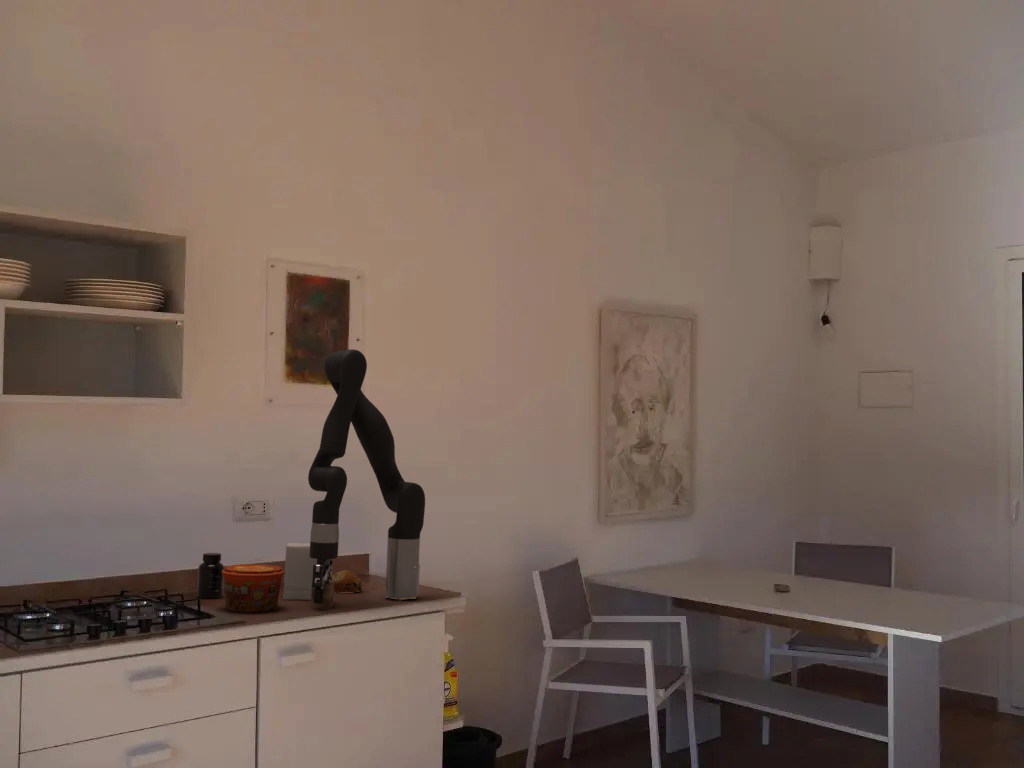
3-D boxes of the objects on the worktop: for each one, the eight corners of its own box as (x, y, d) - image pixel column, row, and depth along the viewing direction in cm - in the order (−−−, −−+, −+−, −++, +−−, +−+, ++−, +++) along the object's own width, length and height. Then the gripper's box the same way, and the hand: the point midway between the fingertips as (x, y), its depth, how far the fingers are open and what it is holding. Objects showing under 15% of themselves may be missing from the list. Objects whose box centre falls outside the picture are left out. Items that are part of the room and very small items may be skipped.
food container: (241, 616, 247) (243, 573, 248) (207, 607, 258) (209, 566, 259) (295, 610, 259) (297, 568, 260) (260, 602, 270) (262, 562, 270)
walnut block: (333, 606, 268) (333, 583, 268) (329, 609, 263) (330, 586, 263) (314, 605, 268) (315, 582, 268) (310, 608, 263) (311, 585, 263)
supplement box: (315, 600, 275) (318, 546, 276) (282, 600, 274) (285, 545, 275) (316, 595, 284) (319, 542, 285) (285, 595, 283) (287, 542, 284)
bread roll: (349, 600, 300) (342, 575, 302) (372, 589, 295) (364, 563, 297) (325, 604, 292) (318, 578, 294) (348, 592, 287) (340, 566, 289)
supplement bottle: (192, 596, 274) (194, 553, 275) (214, 594, 279) (216, 551, 280) (205, 600, 270) (207, 555, 270) (227, 597, 275) (229, 554, 275)
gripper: (333, 543, 259) (329, 605, 258) (343, 538, 273) (340, 597, 272) (304, 542, 259) (301, 604, 258) (316, 537, 273) (313, 596, 272)
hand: (321, 601), depth 265 cm, fingers open, 8 cm apart
